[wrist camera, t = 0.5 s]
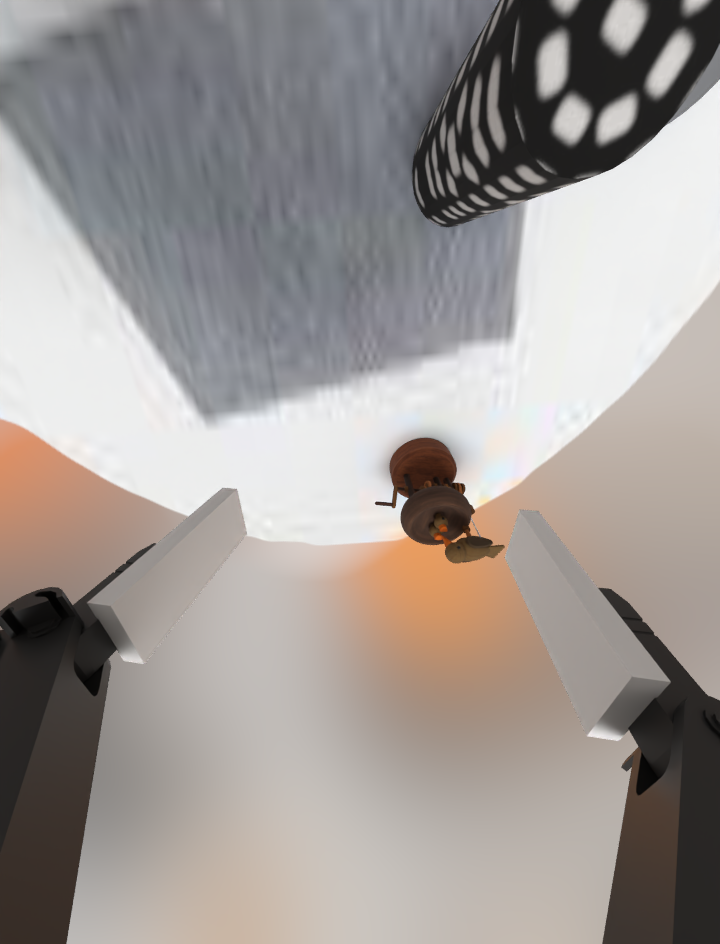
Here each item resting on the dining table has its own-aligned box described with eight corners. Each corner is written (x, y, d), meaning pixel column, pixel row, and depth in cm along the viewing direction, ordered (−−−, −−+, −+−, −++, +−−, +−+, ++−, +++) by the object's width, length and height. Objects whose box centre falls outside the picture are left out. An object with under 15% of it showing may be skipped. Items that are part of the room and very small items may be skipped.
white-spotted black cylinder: (519, 132, 25) (820, -98, 9) (466, 242, 30) (608, 215, 14) (441, 75, 23) (656, -351, 7) (397, 202, 28) (469, 116, 12)
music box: (467, 433, 44) (531, 540, 29) (451, 483, 51) (496, 589, 36) (371, 436, 43) (387, 546, 28) (369, 486, 51) (381, 594, 36)
